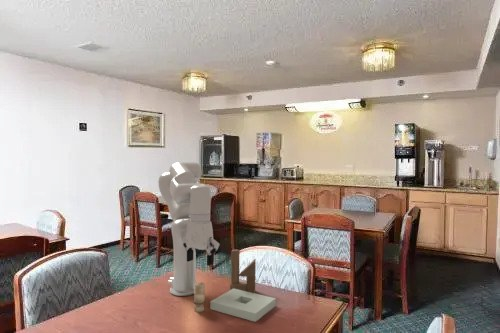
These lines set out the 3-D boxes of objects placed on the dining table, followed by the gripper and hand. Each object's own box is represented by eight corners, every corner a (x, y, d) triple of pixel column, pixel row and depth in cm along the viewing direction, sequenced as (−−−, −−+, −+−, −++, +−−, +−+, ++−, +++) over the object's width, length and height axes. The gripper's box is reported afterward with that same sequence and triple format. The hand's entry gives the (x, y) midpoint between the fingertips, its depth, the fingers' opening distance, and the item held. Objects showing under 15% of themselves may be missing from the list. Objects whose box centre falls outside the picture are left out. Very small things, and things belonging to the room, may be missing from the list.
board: (210, 309, 133) (210, 301, 133) (233, 295, 147) (233, 288, 147) (255, 321, 123) (255, 313, 123) (275, 305, 137) (275, 298, 137)
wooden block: (254, 293, 150) (255, 252, 149) (230, 292, 151) (230, 251, 150) (255, 290, 153) (255, 249, 153) (231, 289, 154) (231, 249, 154)
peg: (191, 311, 132) (191, 284, 132) (198, 307, 135) (198, 281, 135) (200, 313, 130) (200, 287, 129) (207, 309, 133) (207, 283, 133)
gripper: (176, 217, 133) (176, 261, 133) (212, 221, 124) (212, 269, 125) (189, 214, 139) (188, 256, 140) (224, 218, 131) (224, 263, 131)
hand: (199, 262), depth 132 cm, fingers open, 9 cm apart
